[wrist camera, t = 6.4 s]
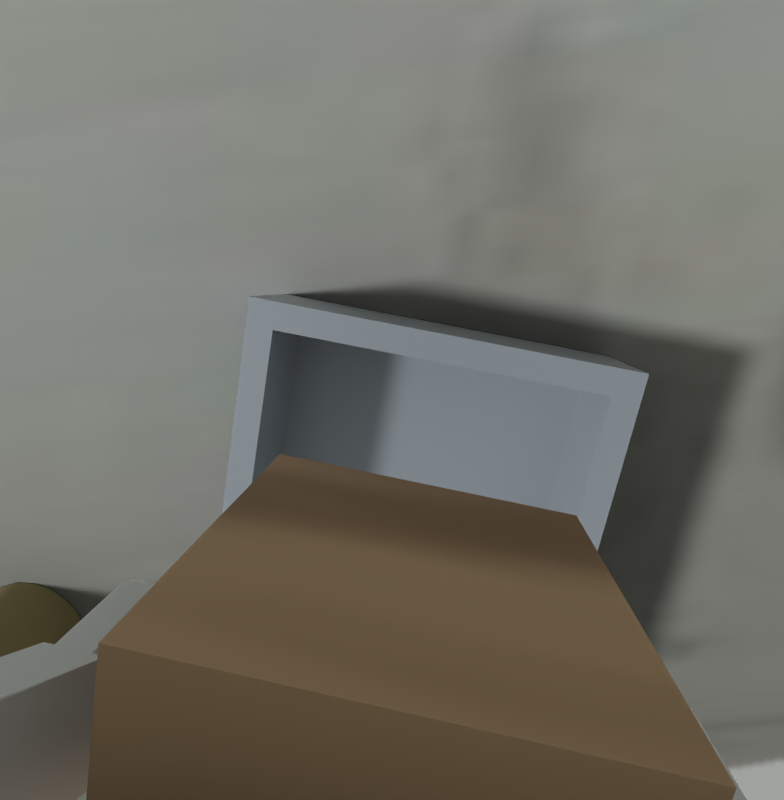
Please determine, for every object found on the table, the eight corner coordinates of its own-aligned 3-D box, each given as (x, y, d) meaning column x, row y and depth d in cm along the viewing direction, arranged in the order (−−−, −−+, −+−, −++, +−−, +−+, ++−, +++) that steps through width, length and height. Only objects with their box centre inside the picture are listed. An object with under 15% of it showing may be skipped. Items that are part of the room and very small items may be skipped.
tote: (287, 294, 24) (248, 296, 19) (606, 355, 23) (649, 373, 19) (238, 647, 28) (195, 723, 23) (510, 708, 27) (524, 800, 22)
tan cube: (279, 454, 9) (98, 641, 4) (576, 515, 9) (736, 787, 4) (243, 703, 10) (64, 1080, 5) (507, 764, 10) (567, 1216, 5)
